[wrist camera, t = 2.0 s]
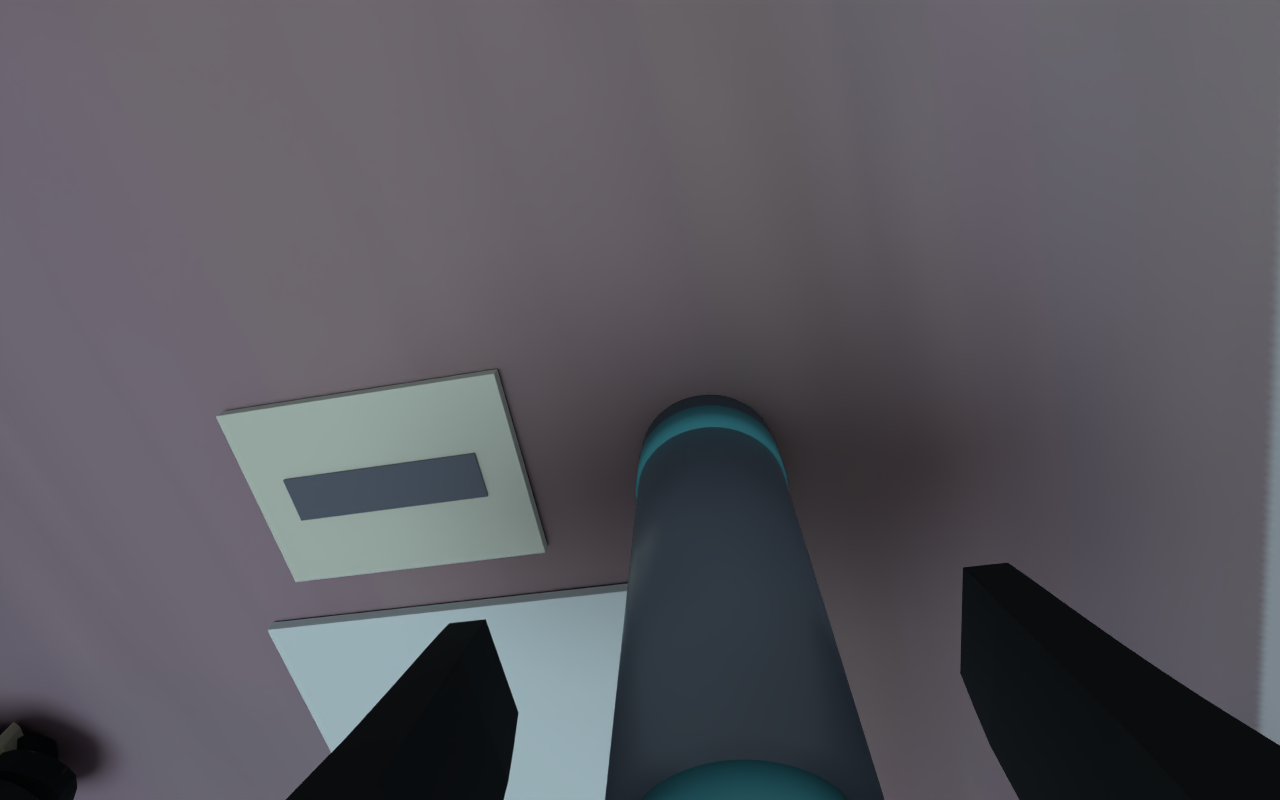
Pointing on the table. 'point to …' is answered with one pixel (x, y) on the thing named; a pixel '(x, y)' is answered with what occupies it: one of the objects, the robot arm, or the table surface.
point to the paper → (531, 659)
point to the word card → (389, 477)
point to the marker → (727, 629)
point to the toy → (32, 768)
